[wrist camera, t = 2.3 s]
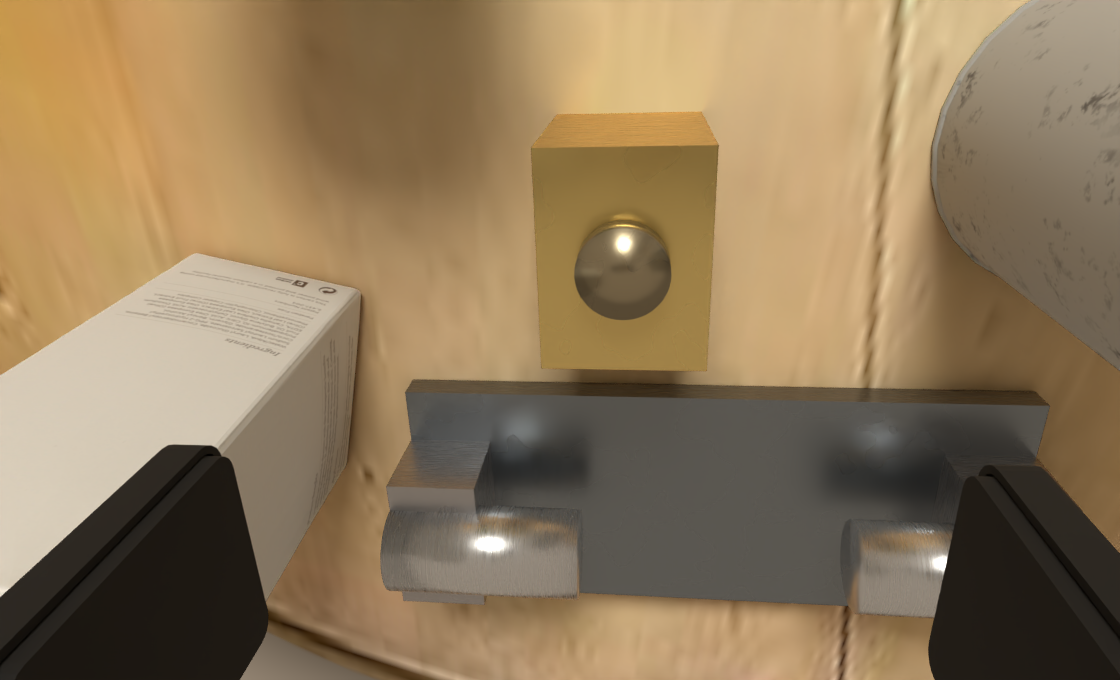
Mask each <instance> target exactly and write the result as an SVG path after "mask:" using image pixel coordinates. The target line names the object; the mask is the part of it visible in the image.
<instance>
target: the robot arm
mask: <svg viewBox="0 0 1120 680" xmlns="http://www.w3.org/2000/svg"><path fill="white" fill-rule="evenodd" d="M267 626H268V609H267V605H266V601H265V597H264V593H263V588H262V584H261V580H260V576H259V572H258V567H257V563H256V559H255V555H254V551H253V546H252V542H251V538H250V534H249V530H248V526H247V521H246V517H245V513H244V509H243V505H242V500H241V496H240V492H239V488H238V484H237V479H236V475H235V471H234V467H233V464H232V462H231V461H230V459H229V458H227V457H223V456H222V455H221V453H220V452H219V450H218V449H217V448H216V447H214V446H212V445H177V444H173V445H167V446H166V447H164V448H162V449H161V450H160V451H159V452H158V453H157V454H156V455H155V456H153V457H152V458H151V459H150V460H149V461H148V462H147V463H146V464H145V465H144V466H143V467H141V468H140V469H139V470H138V471H137V472H136V473H135V474H134V475H133V476H132V477H131V478H129V479H128V480H127V481H126V482H125V483H124V484H123V485H122V486H121V487H120V488H119V489H117V490H116V491H115V492H114V493H113V494H112V495H111V496H110V497H109V498H108V499H107V500H106V501H104V502H103V503H102V504H101V505H100V506H99V507H98V508H97V509H96V510H95V511H94V512H92V513H91V514H90V515H89V516H88V517H87V518H86V519H85V520H84V521H83V522H82V523H80V524H79V525H78V526H77V527H76V528H75V529H74V530H73V531H72V532H71V533H70V534H68V535H67V536H66V537H65V538H64V539H63V540H62V541H61V542H60V543H59V544H58V545H56V546H55V547H54V548H53V549H52V550H51V551H50V552H49V553H48V554H47V555H46V556H44V557H43V558H42V559H41V560H40V561H39V562H38V563H37V564H36V565H35V566H34V567H32V568H31V569H30V570H29V571H28V572H27V573H26V574H25V575H24V576H23V577H22V578H20V579H19V580H18V581H17V582H16V583H15V584H14V585H13V586H12V587H11V588H10V589H8V590H7V591H6V592H5V593H4V594H3V595H2V596H1V597H0V680H240V678H241V677H242V675H243V673H244V672H245V670H246V668H247V667H248V665H249V663H250V662H251V660H252V658H253V657H254V655H255V653H256V652H257V650H258V648H259V647H260V645H261V643H262V641H263V639H264V637H265V634H266V631H267ZM928 653H929V663H930V667H931V671H932V674H933V677H934V679H935V680H1120V553H1119V552H1118V551H1117V550H1116V549H1115V548H1114V547H1113V545H1112V544H1111V543H1110V542H1109V541H1108V540H1107V539H1106V538H1105V537H1104V535H1103V534H1102V533H1101V532H1100V531H1099V530H1098V529H1097V528H1096V526H1095V525H1094V524H1093V523H1092V522H1091V521H1090V520H1089V519H1088V517H1087V516H1086V515H1085V514H1084V513H1083V512H1082V511H1081V510H1080V509H1079V507H1078V506H1077V505H1076V504H1075V503H1074V502H1073V501H1072V500H1071V498H1070V497H1069V496H1068V495H1067V494H1066V493H1065V492H1064V491H1063V489H1062V488H1061V487H1060V486H1059V485H1058V484H1057V483H1056V482H1055V481H1054V479H1053V478H1052V477H1051V476H1050V475H1049V474H1048V473H1047V472H1046V471H1045V470H1044V469H1043V468H1041V467H1039V466H1029V465H986V466H984V467H983V468H982V469H981V471H980V472H979V475H978V476H970V477H968V478H967V479H966V480H965V482H964V485H963V488H962V493H961V497H960V502H959V507H958V511H957V516H956V520H955V525H954V530H953V534H952V539H951V543H950V548H949V552H948V557H947V562H946V566H945V571H944V575H943V580H942V585H941V589H940V594H939V598H938V603H937V608H936V612H935V617H934V621H933V626H932V631H931V635H930V640H929V647H928Z"/></svg>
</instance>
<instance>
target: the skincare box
mask: <svg viewBox="0 0 1120 680" xmlns="http://www.w3.org/2000/svg"><path fill="white" fill-rule="evenodd" d="M360 304H361V293H360V291H359V290H357V289H355V288H351V287H347V286H342V285H338V284H333V283H329V282H325V281H320V280H316V279H311V278H307V277H303V276H298V275H294V274H289V273H285V272H281V271H276V270H272V269H267V268H262V267H258V266H253V265H248V264H243V263H239V262H234V261H230V260H226V259H221V258H217V257H213V256H208V255H204V254H199V253H195V254H192V255H190V256H189V257H187V258H186V259H184V260H182V261H181V262H179V263H178V264H176V265H175V266H173V267H172V268H170V269H169V270H167V271H165V272H163V273H162V274H160V275H159V276H157V277H156V278H154V279H152V280H151V281H149V282H148V283H146V284H145V285H143V286H141V287H140V288H138V289H137V290H135V291H134V292H132V293H131V294H129V295H127V296H125V297H124V298H122V299H121V300H119V301H118V302H116V303H115V304H113V305H112V306H110V307H108V308H107V309H105V310H104V311H102V312H100V313H99V314H97V315H95V316H94V317H92V318H90V319H89V320H87V321H86V322H84V323H83V324H81V325H80V326H78V327H76V328H75V329H73V330H71V331H70V332H68V333H67V334H65V335H63V336H62V337H60V338H59V339H57V340H56V341H54V342H53V343H51V344H50V345H48V346H46V347H45V348H43V349H42V350H40V351H38V352H37V353H35V354H34V355H32V356H30V357H29V358H27V359H26V360H24V361H22V362H21V363H19V364H18V365H16V366H15V367H13V368H11V369H10V370H8V371H7V372H5V373H3V374H2V375H0V597H1V596H2V595H3V594H4V593H5V592H6V591H7V590H8V589H10V588H11V587H12V586H13V585H14V584H15V583H16V582H17V581H18V580H19V579H20V578H22V577H23V576H24V575H25V574H26V573H27V572H28V571H29V570H30V569H31V568H32V567H34V566H35V565H36V564H37V563H38V562H39V561H40V560H41V559H42V558H43V557H44V556H46V555H47V554H48V553H49V552H50V551H51V550H52V549H53V548H54V547H55V546H56V545H58V544H59V543H60V542H61V541H62V540H63V539H64V538H65V537H66V536H67V535H68V534H70V533H71V532H72V531H73V530H74V529H75V528H76V527H77V526H78V525H79V524H80V523H82V522H83V521H84V520H85V519H86V518H87V517H88V516H89V515H90V514H91V513H92V512H94V511H95V510H96V509H97V508H98V507H99V506H100V505H101V504H102V503H103V502H104V501H106V500H107V499H108V498H109V497H110V496H111V495H112V494H113V493H114V492H115V491H116V490H117V489H119V488H120V487H121V486H122V485H123V484H124V483H125V482H126V481H127V480H128V479H129V478H131V477H132V476H133V475H134V474H135V473H136V472H137V471H138V470H139V469H140V468H141V467H143V466H144V465H145V464H146V463H147V462H148V461H149V460H150V459H151V458H152V457H153V456H155V455H156V454H157V453H158V452H159V451H160V450H161V449H162V448H164V447H166V446H167V445H173V444H177V445H212V446H214V447H216V448H217V449H218V450H219V452H220V453H221V455H222V456H223V457H227V458H229V459H230V461H231V462H232V464H233V467H234V471H235V475H236V479H237V484H238V488H239V492H240V496H241V500H242V505H243V509H244V513H245V517H246V521H247V526H248V530H249V534H250V538H251V542H252V546H253V551H254V555H255V559H256V563H257V567H258V572H259V576H260V580H261V584H262V588H263V593H264V597H265V601H266V600H267V599H268V597H269V595H270V594H271V592H272V590H273V589H274V587H275V585H276V584H277V582H278V580H279V579H280V577H281V575H282V573H283V572H284V570H285V568H286V566H287V565H288V563H289V561H290V559H291V558H292V556H293V554H294V552H295V551H296V549H297V547H298V546H299V544H300V542H301V540H302V539H303V537H304V535H305V533H306V532H307V530H308V528H309V526H310V525H311V523H312V521H313V520H314V518H315V516H316V515H317V513H318V511H319V510H320V508H321V507H322V505H323V503H324V502H325V500H326V498H327V496H328V494H329V493H330V491H331V490H332V488H333V486H334V485H335V483H336V481H337V480H338V478H339V476H340V475H341V473H342V471H343V470H344V468H345V467H346V464H347V457H348V447H349V436H350V425H351V414H352V403H353V391H354V380H355V369H356V357H357V345H358V334H359V320H360Z"/></svg>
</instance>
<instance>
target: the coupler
mask: <svg viewBox="0 0 1120 680" xmlns="http://www.w3.org/2000/svg"><path fill="white" fill-rule="evenodd" d="M718 147H719V145H718V143H717V141H716V139H715V137H714V135H713V133H712V131H711V129H710V127H709V125H708V124H707V122H706V120H705V118H704V116H703V114H702V112H660V113H609V114H558V115H556V116H555V118H554V119H553V120H552V122H551V123H550V124H549V125H548V127H547V128H546V129H545V131H544V132H543V133H542V134H541V136H540V137H539V138H538V140H537V141H536V142H535V143H534V145H533V146H532V147H531V157H532V178H533V199H534V220H535V242H536V263H537V284H538V305H539V326H540V347H541V368H548V369H608V370H668V371H707V354H708V335H709V316H710V298H711V279H712V260H713V241H714V222H715V203H716V184H717V165H718Z"/></svg>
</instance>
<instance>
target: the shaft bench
mask: <svg viewBox="0 0 1120 680" xmlns="http://www.w3.org/2000/svg"><path fill="white" fill-rule="evenodd" d="M405 394H406V402H407V409H408V417H409V425H410V432H411V441H410V443H409V445H408V447H407V449H406V451H405V452H404V454H403V456H402V458H401V460H400V462H399V464H398V466H397V467H396V469H395V471H394V473H393V475H392V477H391V479H390V481H389V482H388V484H387V486H386V488H387V494H388V501H389V507H390V512H389V514H388V517H387V520H386V523H385V527H384V531H383V537H382V544H381V574H382V579H383V583H384V585H385V587H386V589H387V590H389V591H402V593H403V600H404V601H421V602H440V603H459V604H479V605H485V601H486V597H487V596H505V597H524V598H544V599H564V600H579V596H580V593H596V594H616V595H636V596H656V597H676V598H697V599H717V600H737V601H757V602H777V603H797V604H818V605H838V606H849V608H850V610H851V611H852V612H853V613H854V614H860V615H880V616H899V617H919V618H934V617H935V612H936V608H937V603H938V598H939V594H940V589H941V585H942V580H943V575H944V571H945V566H946V562H947V557H948V552H949V548H950V543H951V539H952V534H953V530H954V525H955V520H956V516H957V511H958V507H959V502H960V497H961V493H962V488H963V485H964V482H965V480H966V479H967V478H968V477H970V476H978V475H979V472H980V471H981V469H982V468H983V467H984V466H986V465H1029V466H1039V467H1041V468H1043V469H1044V470H1045V471H1046V472H1047V473H1048V474H1049V475H1050V476H1051V477H1052V478H1053V479H1054V481H1055V482H1056V483H1057V484H1058V485H1059V486H1060V487H1061V485H1060V484H1059V483H1058V482H1057V481H1056V480H1055V478H1054V477H1053V476H1052V475H1051V474H1050V473H1049V471H1048V470H1047V469H1046V468H1045V467H1044V466H1043V465H1042V463H1041V462H1040V461H1039V460H1038V459H1037V458H1036V456H1037V452H1038V449H1039V445H1040V441H1041V437H1042V434H1043V430H1044V426H1045V423H1046V419H1047V415H1048V411H1049V408H1050V406H1049V405H1048V404H1047V403H1046V402H1045V401H1044V400H1043V399H1042V398H1041V397H1040V396H1039V395H1038V394H1037V393H1036V392H1020V391H969V390H918V389H867V388H816V387H765V386H713V385H662V384H611V383H560V382H509V381H458V380H412V382H411V384H410V385H409V387H408V389H407V390H406V392H405ZM1061 488H1062V487H1061ZM1062 489H1063V488H1062ZM1063 491H1064V492H1065V493H1066V494H1067V492H1066V491H1065V490H1064V489H1063ZM1067 495H1068V494H1067ZM1068 496H1069V495H1068ZM1069 497H1070V496H1069ZM1070 498H1071V497H1070ZM1071 500H1072V501H1073V499H1072V498H1071ZM1073 502H1074V501H1073ZM1074 503H1075V502H1074ZM1075 504H1076V503H1075ZM1076 505H1077V504H1076ZM1077 506H1078V505H1077ZM1078 507H1079V506H1078ZM1079 509H1080V508H1079ZM1080 510H1081V509H1080ZM1081 511H1082V510H1081Z"/></svg>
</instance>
